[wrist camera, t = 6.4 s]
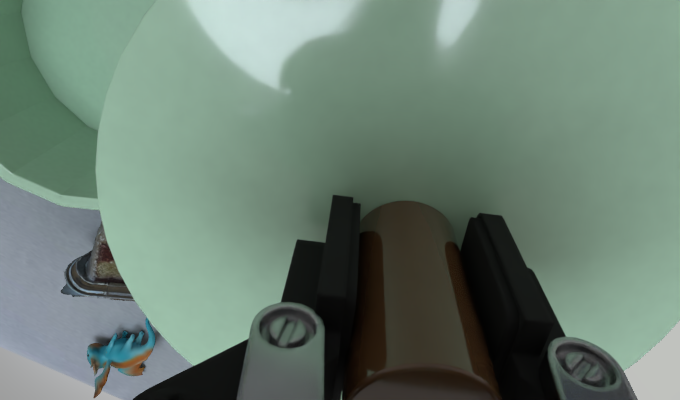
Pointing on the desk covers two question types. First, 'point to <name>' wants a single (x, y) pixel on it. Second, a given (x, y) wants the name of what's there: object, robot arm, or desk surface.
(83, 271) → the chocolate cake
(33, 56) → the pot
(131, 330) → the desk surface
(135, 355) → the dragon figurine
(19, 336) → the desk surface
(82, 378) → the desk surface
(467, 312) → the pot lid
